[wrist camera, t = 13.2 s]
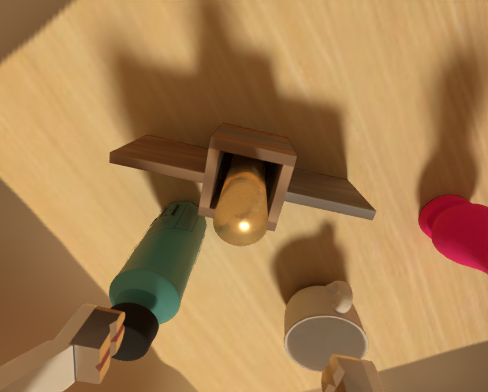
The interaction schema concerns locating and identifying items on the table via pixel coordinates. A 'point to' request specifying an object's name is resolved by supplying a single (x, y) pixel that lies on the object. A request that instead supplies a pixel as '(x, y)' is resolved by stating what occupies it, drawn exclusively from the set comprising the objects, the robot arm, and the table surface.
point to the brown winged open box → (251, 145)
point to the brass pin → (242, 203)
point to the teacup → (323, 326)
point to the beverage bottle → (156, 276)
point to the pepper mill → (458, 230)
